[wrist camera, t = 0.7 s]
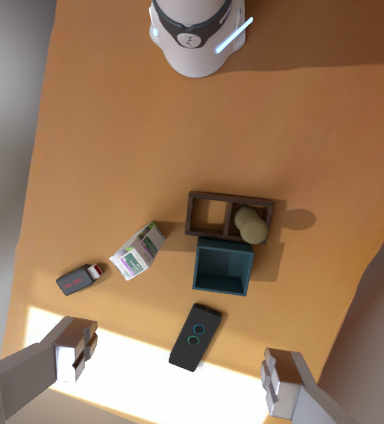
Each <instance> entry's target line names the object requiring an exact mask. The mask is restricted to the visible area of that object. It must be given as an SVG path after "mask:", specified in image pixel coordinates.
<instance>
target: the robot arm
mask: <svg viewBox="0 0 384 424" xmlns="http://www.w3.org/2000/svg"><path fill="white" fill-rule="evenodd" d="M149 12H150V16H151V20H152V22H151V26H150V36H151V39H152V40H153V42H154V43H155V44H157V45H158V46H159V47H160V48H161V49H162V51H163V53H164V55H165V57H166V59H167V61H168V62H169V64H170V65H171V66H172V67H173V68H174V69H175V70H176V71H177V72H179V73H180V74H182V75H184V76H187V77H192V78H200V77H205V76H208V75H210V74H212V73H214V72H215V71H217V70H218V69H219V68H220V67H221V66H222V65H223V64H224V63H225V61H226V60H227V58H228V57H229V56H230V55H231V54H232V53H234V52H235V51H237V50H239V49H240V48H241V47H242V46H243V45H244V43H245V27H246V26H247V25H249V24H250V23H251V22H252V19H253V18H252V17H251V18H250V19H249V20H248V21H247V22H246V23H245V4H244V0H152V4H151V7H150V8H149ZM239 33H240V34H239ZM97 328H98V326H97V322H96V321H92V320H87V319H82V318H75V317H69V316H66V317H64V318H63V319H62V320H61V321H60V322H59V323H58V324H57V325H56V326H55V327H54V328H53V329H52V330H51V331H50V332H49V333H48V334H47V335H46V337H45V338H44V339H43V340H42V341H41V342H40V343H34V344H32V345H30V346H28V347H26V348H24V349H22V350H20V351H18V352H16V353H14V354H12V355H10V356H8V357H6V358H4V359H2V360H0V424H6V420H7V419H8V418H9V417H11V416H12V415H13V414H15V413H16V412H17V411H18V410H20V409H21V408H22V407H24V406H25V405H26V404H27V403H29V402H30V401H31V400H33V399H34V398H35V397H36V396H38V395H39V394H40V393H42V392H43V391H44V390H45V389H47V388H48V387H49V386H51V385H52V384H53V383H54V382H56V380H60V381H68V382H75V383H76V381H77V379H78V378H79V376H80V374H81V373H82V371H83V370H84V368H85V362H86V361H87V360H89V359H90V358H91V356H92V355H93V353H94V350H95V348H96V345H97V337H98V336H97V334H96V333H95V331H96V330H97ZM264 356H265V360H264V361H263V362H262V365H261V380H262V385H263V388H264V389H265V390H266V391H267V395H266V401H267V405H268V409H269V413H270V416H273V417H277V418H282V419H287V420H292V421H291V422H292V423H293V424H358V423H357V422H356V421H355V420H354V419H353V418H352V417H351V416H350V415H349V414H348V413H347V412H346V411H345V410H344V409H343V408H341V407H340V406H339V405H338V404H337V403H336V402H335V401H334V400H333V399H332V398H331V397H330V396H329V395H328V394H327V393H326V392H325V391H324V390H322V389H319V388H318V386H317V384H316V382H315V380H314V378H313V376H312V374H311V372H310V370H309V368H308V366H307V364H306V362H305V360H304V358H303V356H302V354H301V353H300V352H294V351H287V350H280V349H273V348H266V349H265V352H264Z"/></svg>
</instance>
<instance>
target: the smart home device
mask: <svg viewBox="0 0 384 424" xmlns="http://www.w3.org/2000/svg"><path fill="white" fill-rule="evenodd" d="M220 322H221V313H218V312H216V311H213V310H211V309H208V308H206V307H203V306H201V305H198V304H194V305H193V307H192V309H191V311H190V313H189V315H188V317H187V319H186V322H185V324H184V326H183V328H182V330H181V332H180V334H179V337H178V339H177V341H176V343H175V345H174V347H173V349H172V352H171V354H170V357H169V363H171V364H173V365H176V366H178V367H181V368H184V369H186V370H189V371H191V372H194V371H195V370H196V368H197V366H198V364H199V362H200V360H201V358H202V356H203V354H204V352H205V350H206V348H207V347H208V345H209V343H210V341H211V339H212V337H213V335H214V333H215V331H216V329H217V327H218V325H219V323H220Z"/></svg>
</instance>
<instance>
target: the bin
mask: <svg viewBox="0 0 384 424" xmlns="http://www.w3.org/2000/svg"><path fill="white" fill-rule="evenodd" d="M253 258H254V251H253V249H252V247H251V245H250V243H248V242H241V241H233V240H225V239H217V238H209V237H201V236H199V237H198V244H197V252H196V261H195V269H194V278H193V286H192V289H196V290H203V291H210V292H217V293H225V294H232V295H239V296H246V294H247V289H248V284H249V279H250V273H251V268H252V263H253Z"/></svg>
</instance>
